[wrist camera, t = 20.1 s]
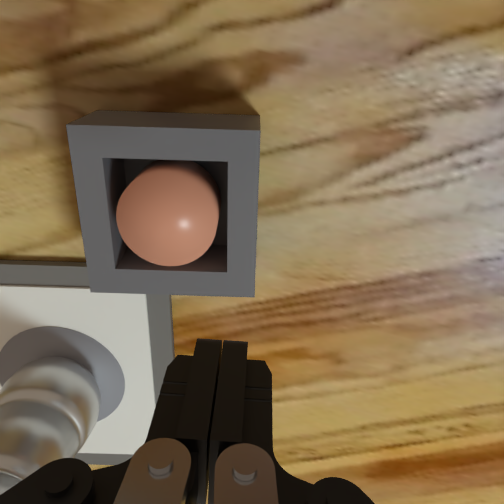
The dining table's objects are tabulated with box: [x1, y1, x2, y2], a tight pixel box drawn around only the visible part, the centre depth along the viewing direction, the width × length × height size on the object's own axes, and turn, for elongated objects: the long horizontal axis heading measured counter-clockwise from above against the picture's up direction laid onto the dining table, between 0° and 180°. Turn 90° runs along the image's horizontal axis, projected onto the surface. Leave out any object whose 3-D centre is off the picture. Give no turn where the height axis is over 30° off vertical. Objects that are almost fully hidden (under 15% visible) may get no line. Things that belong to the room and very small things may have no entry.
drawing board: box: [0, 260, 175, 465], centre depth 32 cm, size 18×16×1 cm
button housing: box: [66, 110, 260, 297], centre depth 25 cm, size 9×9×4 cm
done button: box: [116, 160, 221, 266], centre depth 24 cm, size 5×5×3 cm
